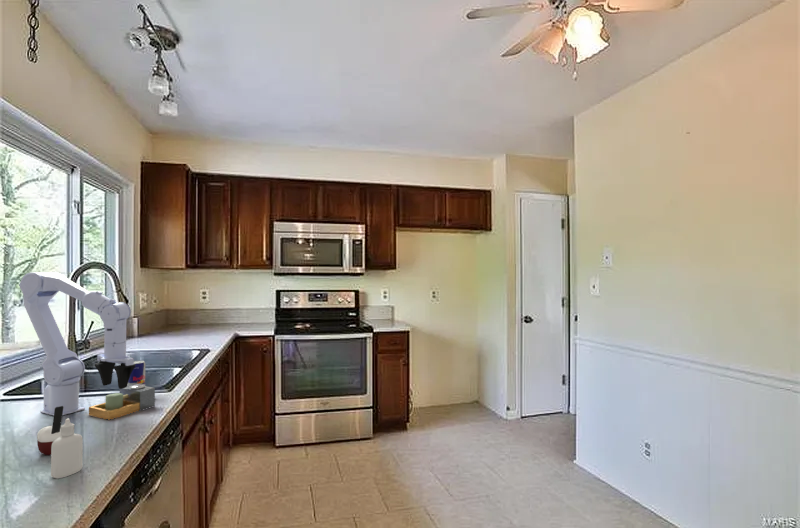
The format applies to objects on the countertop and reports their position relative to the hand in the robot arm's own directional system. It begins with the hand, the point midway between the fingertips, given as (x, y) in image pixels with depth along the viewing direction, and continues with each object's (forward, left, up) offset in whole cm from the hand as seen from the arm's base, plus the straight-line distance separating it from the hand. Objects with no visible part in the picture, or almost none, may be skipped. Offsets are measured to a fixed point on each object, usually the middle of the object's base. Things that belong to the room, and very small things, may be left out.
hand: (114, 386), depth 140 cm
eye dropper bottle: (+30, -30, -8) cm, 43 cm away
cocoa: (+15, -25, -8) cm, 30 cm away
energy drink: (-10, +14, -8) cm, 19 cm away
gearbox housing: (0, +2, -8) cm, 9 cm away
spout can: (0, 0, -8) cm, 8 cm away
